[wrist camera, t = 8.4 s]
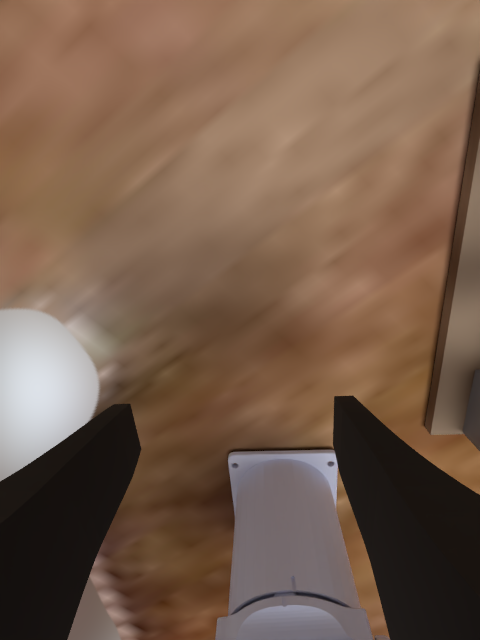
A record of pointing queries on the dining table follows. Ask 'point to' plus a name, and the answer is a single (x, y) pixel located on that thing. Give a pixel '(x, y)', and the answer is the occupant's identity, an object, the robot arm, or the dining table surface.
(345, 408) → the robot arm
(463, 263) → the base board
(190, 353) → the dining table surface
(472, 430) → the end caps
